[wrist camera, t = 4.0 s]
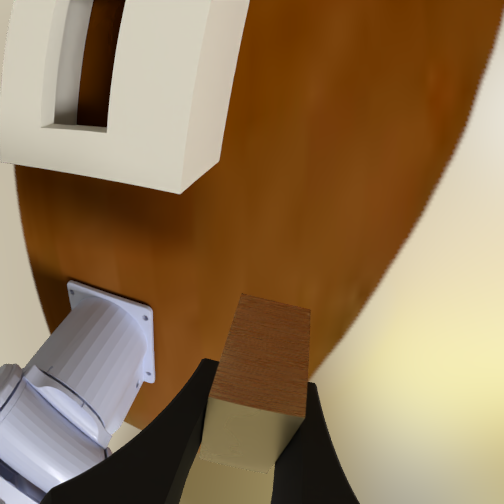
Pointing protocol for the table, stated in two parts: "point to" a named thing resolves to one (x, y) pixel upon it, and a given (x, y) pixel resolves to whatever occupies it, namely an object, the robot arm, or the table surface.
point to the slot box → (122, 90)
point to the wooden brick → (258, 385)
